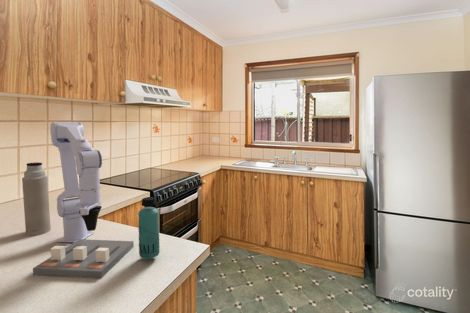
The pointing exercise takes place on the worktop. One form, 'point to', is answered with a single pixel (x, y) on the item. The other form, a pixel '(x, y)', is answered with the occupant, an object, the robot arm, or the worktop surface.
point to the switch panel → (94, 266)
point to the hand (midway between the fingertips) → (91, 229)
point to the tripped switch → (80, 253)
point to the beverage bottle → (148, 229)
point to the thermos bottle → (36, 200)
